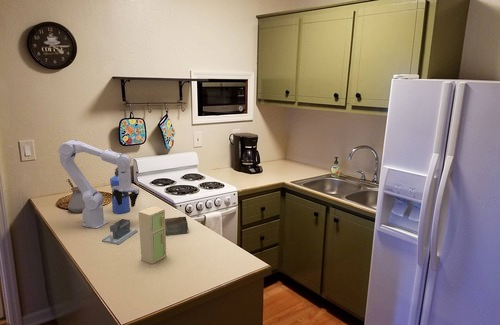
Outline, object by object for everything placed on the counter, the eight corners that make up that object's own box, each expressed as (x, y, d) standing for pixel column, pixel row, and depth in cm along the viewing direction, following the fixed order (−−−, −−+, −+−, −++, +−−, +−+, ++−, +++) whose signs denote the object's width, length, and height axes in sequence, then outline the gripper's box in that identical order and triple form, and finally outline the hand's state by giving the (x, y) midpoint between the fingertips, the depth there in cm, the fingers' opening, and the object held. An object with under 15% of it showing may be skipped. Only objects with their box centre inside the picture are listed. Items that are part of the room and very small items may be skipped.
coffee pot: (94, 210, 194) (91, 184, 191) (72, 215, 187) (69, 188, 183) (80, 201, 209) (78, 176, 206) (59, 205, 201) (56, 180, 198)
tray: (102, 241, 157) (101, 231, 156) (121, 229, 170) (121, 220, 169) (119, 244, 155) (118, 234, 154) (137, 232, 168) (137, 222, 167)
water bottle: (126, 214, 190) (123, 169, 184) (109, 214, 190) (106, 169, 184) (132, 208, 199) (130, 165, 193) (116, 208, 199) (113, 165, 193)
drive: (110, 238, 159) (109, 226, 158) (123, 230, 167) (122, 218, 166) (118, 239, 158) (117, 227, 157) (130, 231, 166) (129, 219, 165)
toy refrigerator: (153, 265, 138) (151, 215, 133) (140, 260, 142) (138, 211, 137) (168, 257, 145) (166, 209, 140) (155, 252, 148) (153, 205, 144)
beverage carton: (146, 231, 170) (146, 218, 168) (186, 227, 175) (186, 215, 173) (146, 238, 162) (146, 224, 161) (188, 234, 167) (188, 221, 166)
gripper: (107, 180, 170) (109, 206, 173) (132, 182, 166) (134, 209, 169) (116, 176, 177) (118, 201, 180) (141, 179, 173) (142, 205, 176)
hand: (126, 205), depth 175 cm, fingers open, 7 cm apart
